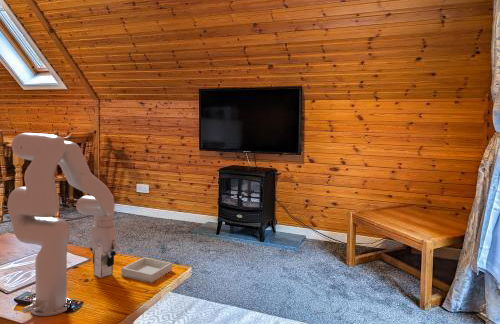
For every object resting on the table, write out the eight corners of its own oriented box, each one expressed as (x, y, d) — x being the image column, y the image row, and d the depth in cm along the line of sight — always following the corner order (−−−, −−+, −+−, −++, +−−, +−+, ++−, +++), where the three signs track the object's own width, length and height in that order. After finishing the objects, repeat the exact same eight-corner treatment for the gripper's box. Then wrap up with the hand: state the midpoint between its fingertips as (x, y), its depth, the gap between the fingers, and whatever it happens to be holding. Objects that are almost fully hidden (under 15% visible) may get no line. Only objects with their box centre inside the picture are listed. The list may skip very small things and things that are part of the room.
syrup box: (105, 270, 167) (106, 238, 166) (113, 274, 164) (113, 241, 162) (93, 274, 163) (93, 241, 161) (100, 278, 159) (101, 244, 158)
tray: (151, 283, 157) (151, 274, 157) (121, 276, 163) (121, 268, 162) (171, 270, 171) (172, 263, 171) (144, 264, 177) (144, 257, 176)
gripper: (80, 221, 161) (80, 263, 163) (114, 228, 154) (113, 271, 156) (94, 217, 168) (94, 257, 169) (126, 223, 161) (126, 264, 163)
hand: (103, 263), depth 163 cm, fingers closed on syrup box, 7 cm apart
